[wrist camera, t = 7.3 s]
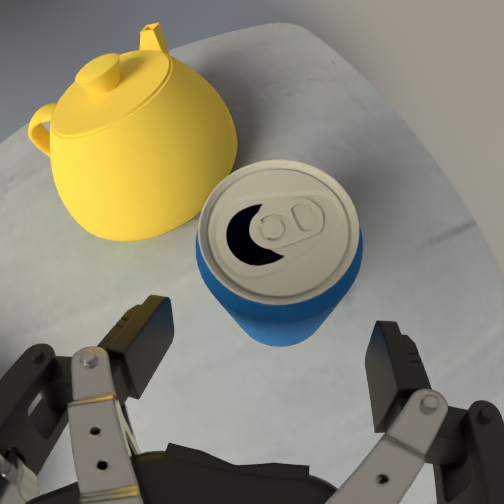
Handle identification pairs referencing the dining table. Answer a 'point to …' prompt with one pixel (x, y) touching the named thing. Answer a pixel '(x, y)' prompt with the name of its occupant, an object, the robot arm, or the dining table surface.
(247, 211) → the beverage can
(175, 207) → the teapot
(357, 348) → the dining table surface
